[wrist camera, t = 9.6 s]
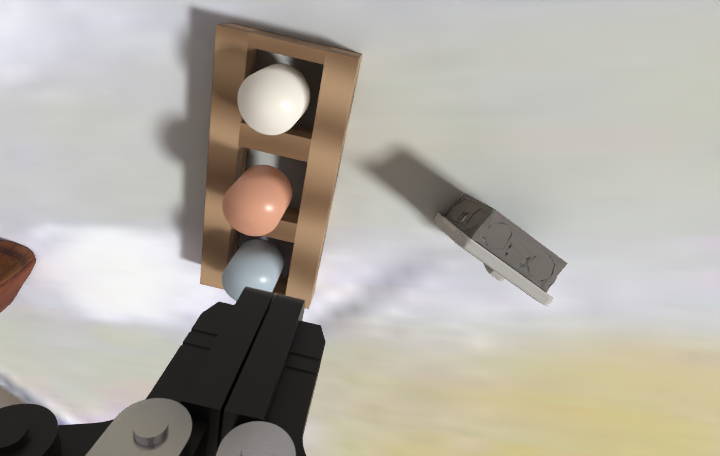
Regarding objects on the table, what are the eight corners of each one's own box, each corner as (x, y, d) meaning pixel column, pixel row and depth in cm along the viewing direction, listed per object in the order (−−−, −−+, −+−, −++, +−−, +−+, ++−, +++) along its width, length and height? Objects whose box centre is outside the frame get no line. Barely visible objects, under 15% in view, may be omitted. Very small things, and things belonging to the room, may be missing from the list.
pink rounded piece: (245, 155, 39) (224, 175, 35) (298, 167, 39) (284, 189, 35) (240, 203, 41) (220, 228, 37) (290, 215, 41) (276, 241, 37)
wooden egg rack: (229, 22, 37) (216, 24, 35) (362, 54, 38) (358, 58, 35) (211, 267, 48) (200, 283, 46) (314, 291, 48) (308, 308, 46)
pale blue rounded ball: (242, 229, 44) (223, 255, 40) (289, 240, 44) (275, 267, 40) (238, 269, 46) (219, 298, 42) (282, 279, 46) (269, 309, 42)
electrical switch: (430, 217, 44) (443, 260, 35) (466, 174, 42) (489, 208, 33) (504, 270, 45) (534, 324, 37) (542, 231, 44) (582, 278, 35)
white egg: (260, 55, 37) (240, 64, 32) (316, 69, 37) (304, 79, 32) (254, 112, 39) (234, 127, 35) (307, 125, 39) (294, 141, 35)
